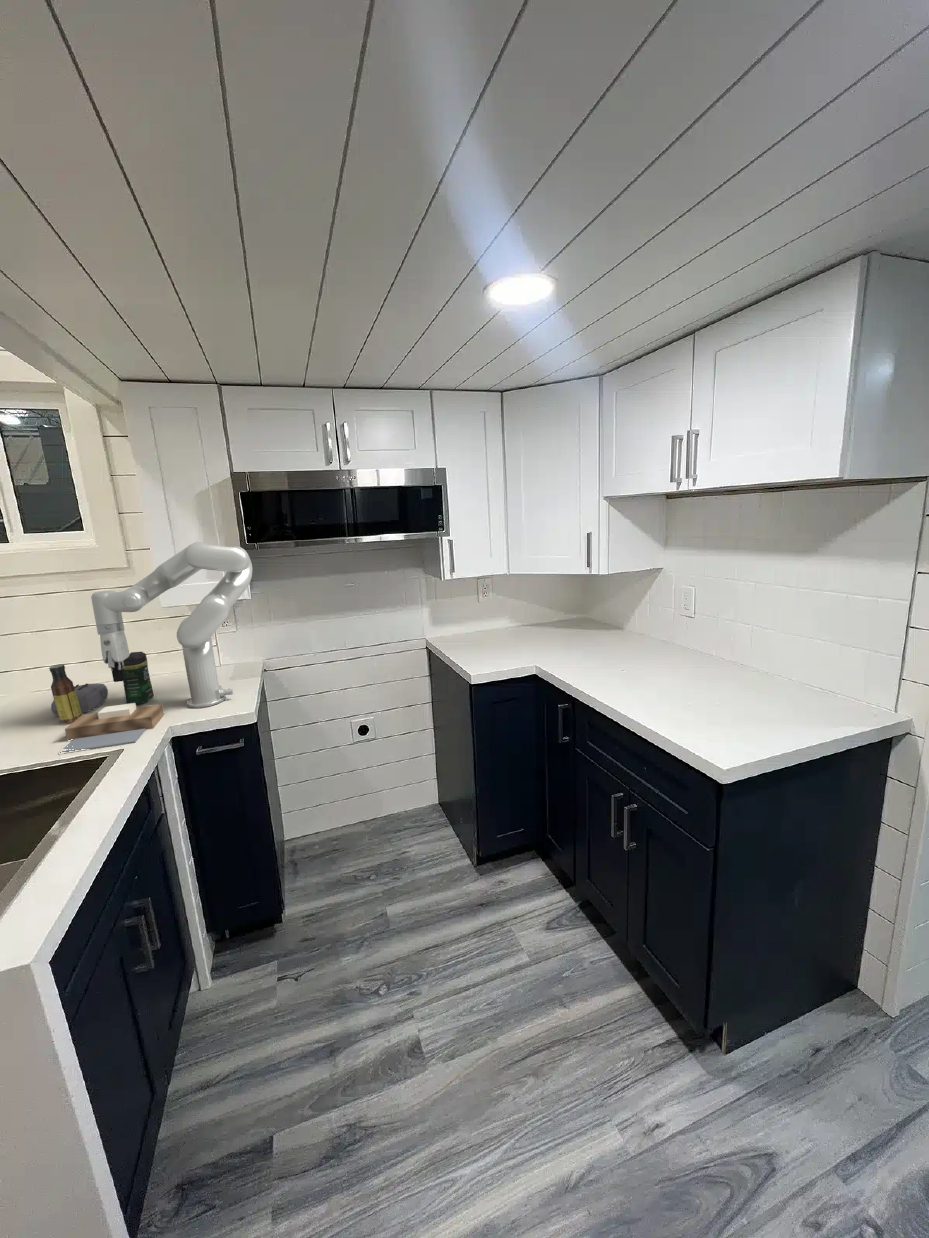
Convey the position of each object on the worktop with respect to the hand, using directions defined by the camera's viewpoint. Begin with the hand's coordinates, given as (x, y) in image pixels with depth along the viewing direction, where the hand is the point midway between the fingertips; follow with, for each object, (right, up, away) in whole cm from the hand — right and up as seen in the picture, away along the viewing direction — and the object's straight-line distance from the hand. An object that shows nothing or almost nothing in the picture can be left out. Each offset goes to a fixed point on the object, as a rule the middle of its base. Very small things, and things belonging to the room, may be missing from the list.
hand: (119, 680), depth 177 cm
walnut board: (+4, -14, -7) cm, 17 cm away
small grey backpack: (-23, -12, +14) cm, 30 cm away
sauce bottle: (-18, -14, +2) cm, 23 cm away
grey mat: (+7, -16, -18) cm, 25 cm away
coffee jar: (-4, -10, +17) cm, 20 cm away
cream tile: (+3, -10, -6) cm, 12 cm away
